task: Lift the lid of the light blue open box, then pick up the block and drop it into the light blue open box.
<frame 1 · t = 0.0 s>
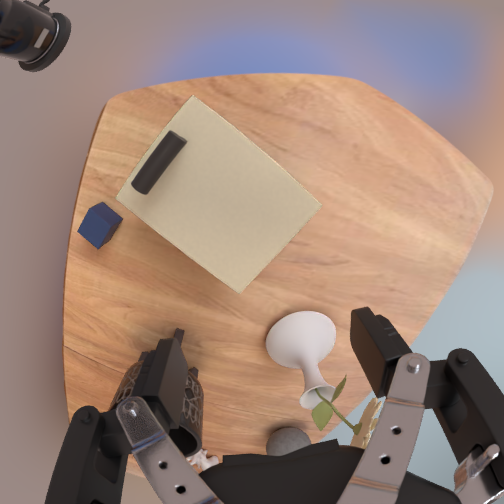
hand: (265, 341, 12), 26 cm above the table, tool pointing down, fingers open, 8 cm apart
block: (106, 221, 35), on the table
planter: (173, 352, 44), on the table
lid: (214, 202, 24), point 11 cm above the table, hinge at 0.0°
flower in vase: (302, 330, 43), on the table
decorative ball: (285, 429, 54), on the table
figurine: (199, 451, 57), on the table
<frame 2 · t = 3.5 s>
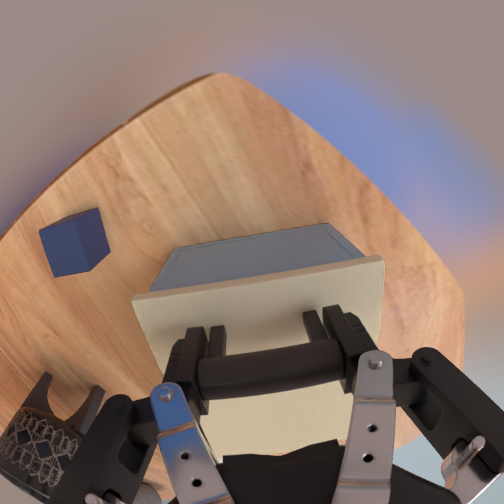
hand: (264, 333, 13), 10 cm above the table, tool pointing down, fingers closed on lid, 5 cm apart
block: (86, 234, 21), on the table
planter: (79, 393, 29), on the table
lid: (279, 418, 14), point 11 cm above the table, hinge at 0.0°, touching gripper
decorative ball: (142, 483, 41), on the table
light blue open box: (264, 317, 25), on the table
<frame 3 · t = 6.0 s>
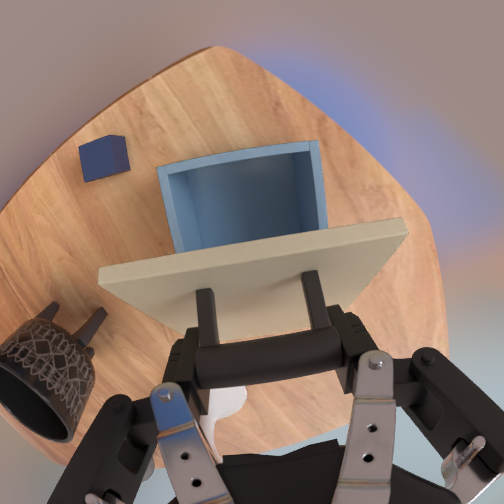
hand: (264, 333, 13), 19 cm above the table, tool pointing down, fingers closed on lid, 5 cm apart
block: (112, 157, 27), on the table
planter: (82, 323, 35), on the table
lid: (267, 340, 16), point 16 cm above the table, hinge at 44.0°, touching gripper
flower in vase: (214, 383, 39), on the table
decorative ball: (136, 444, 46), on the table
light blue open box: (249, 222, 31), on the table
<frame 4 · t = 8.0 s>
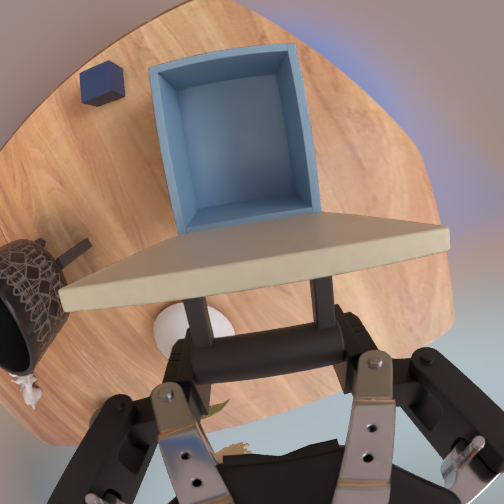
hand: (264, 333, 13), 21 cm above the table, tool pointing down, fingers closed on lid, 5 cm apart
block: (109, 87, 26), on the table
planter: (66, 259, 33), on the table
lid: (257, 275, 16), point 18 cm above the table, hinge at 78.7°, touching gripper
flower in vase: (200, 327, 38), on the table
light blue open box: (236, 139, 29), on the table
figurine: (29, 375, 42), on the table
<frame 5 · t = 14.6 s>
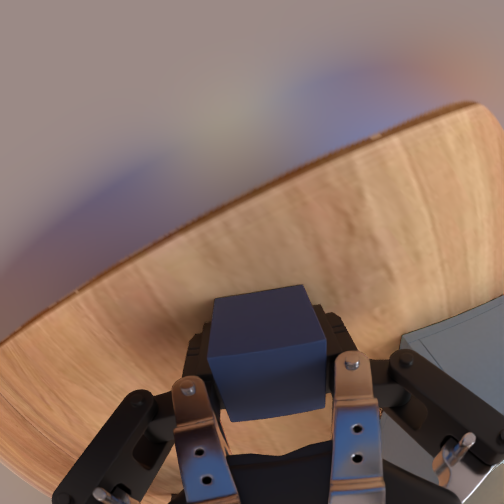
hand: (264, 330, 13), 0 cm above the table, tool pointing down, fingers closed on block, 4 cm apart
block: (264, 327, 13), on the table, touching gripper
light blue open box: (446, 384, 17), on the table
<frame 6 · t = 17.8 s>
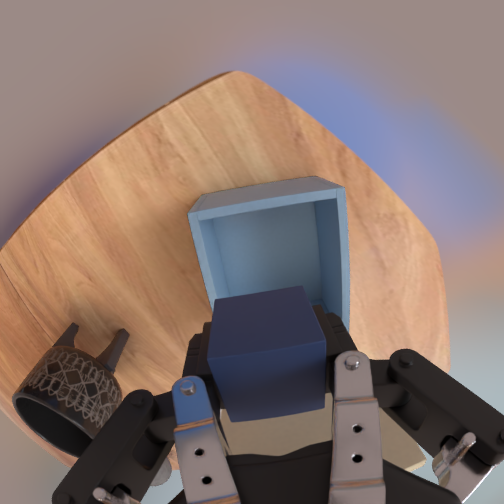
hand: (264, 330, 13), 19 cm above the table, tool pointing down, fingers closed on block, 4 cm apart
block: (264, 327, 13), point 19 cm above the table, touching gripper
planter: (103, 342, 36), on the table
lid: (305, 428, 18), point 18 cm above the table, hinge at 79.2°
decorative ball: (152, 449, 48), on the table
light blue open box: (270, 251, 32), on the table
when the fingers open (9 cm above the table, at t = 20.8 s): block drops 8 cm, resting on light blue open box.
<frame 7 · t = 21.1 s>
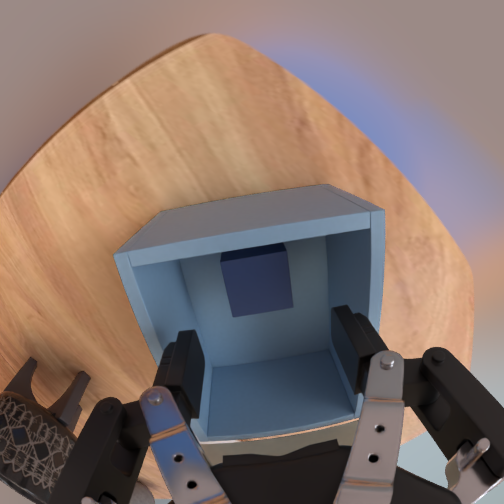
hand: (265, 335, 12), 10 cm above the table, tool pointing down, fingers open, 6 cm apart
block: (254, 261, 21), point 1 cm above the table, touching light blue open box
planter: (64, 381, 27), on the table
decorative ball: (134, 480, 39), on the table
light blue open box: (259, 290, 23), on the table
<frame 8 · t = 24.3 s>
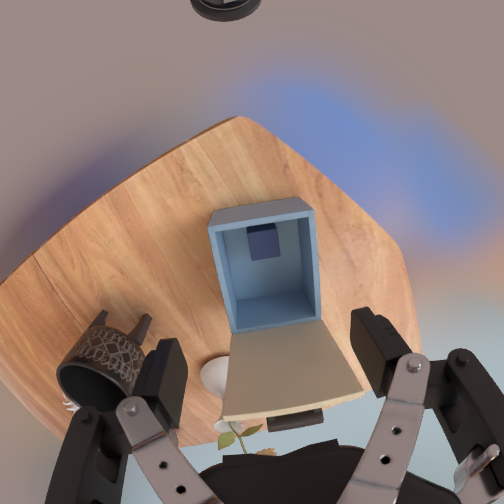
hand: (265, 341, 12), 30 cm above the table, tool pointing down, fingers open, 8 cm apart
block: (261, 236, 41), point 1 cm above the table, touching light blue open box
planter: (128, 325, 47), on the table
lid: (286, 376, 29), point 18 cm above the table, hinge at 79.2°
flower in vase: (233, 369, 52), on the table
light blue open box: (264, 252, 43), on the table
figurine: (79, 401, 56), on the table
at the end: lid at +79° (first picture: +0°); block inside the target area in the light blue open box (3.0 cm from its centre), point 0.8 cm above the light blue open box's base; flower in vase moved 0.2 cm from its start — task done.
